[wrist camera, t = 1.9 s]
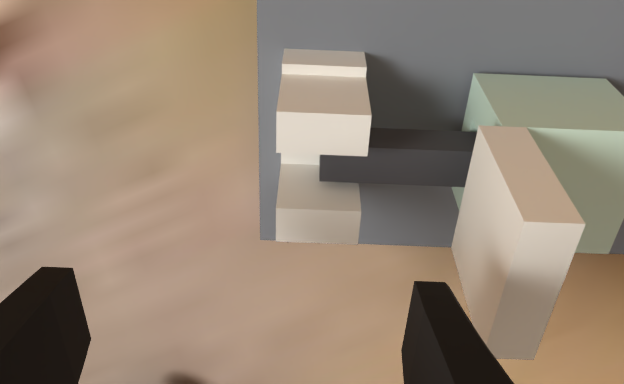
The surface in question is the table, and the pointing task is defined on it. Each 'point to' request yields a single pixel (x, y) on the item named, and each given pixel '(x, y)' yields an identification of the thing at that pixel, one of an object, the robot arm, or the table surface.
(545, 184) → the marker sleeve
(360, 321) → the table surface
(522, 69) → the board
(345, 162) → the dark grey bar
